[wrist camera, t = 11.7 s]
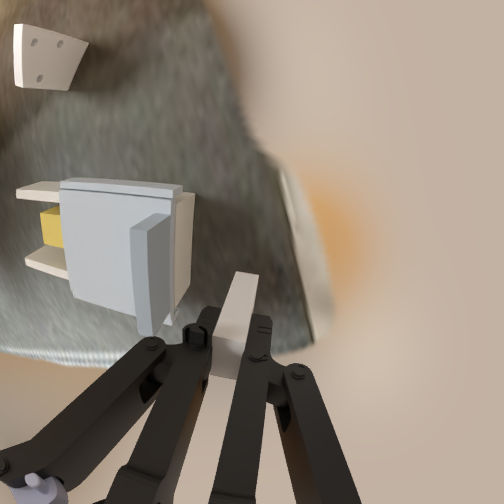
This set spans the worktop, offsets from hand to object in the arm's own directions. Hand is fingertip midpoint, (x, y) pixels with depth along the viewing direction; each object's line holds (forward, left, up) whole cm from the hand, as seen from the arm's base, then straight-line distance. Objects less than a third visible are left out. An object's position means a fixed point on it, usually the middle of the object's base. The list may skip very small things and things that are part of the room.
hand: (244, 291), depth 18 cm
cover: (-11, 0, -4) cm, 12 cm away
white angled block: (-23, +18, -7) cm, 30 cm away
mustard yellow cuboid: (-20, 0, -7) cm, 21 cm away
